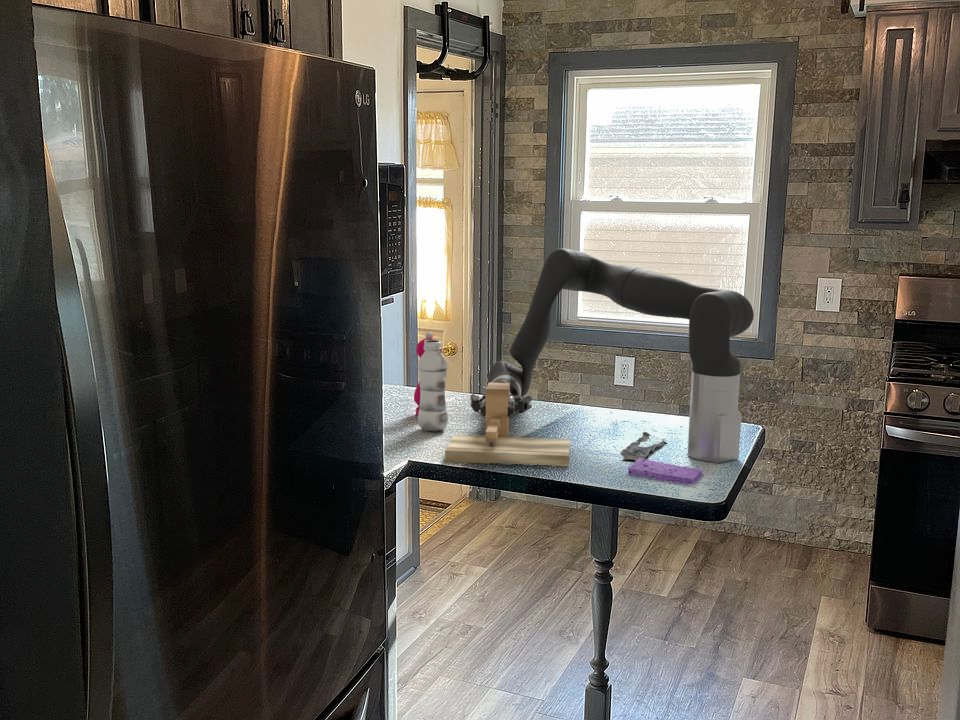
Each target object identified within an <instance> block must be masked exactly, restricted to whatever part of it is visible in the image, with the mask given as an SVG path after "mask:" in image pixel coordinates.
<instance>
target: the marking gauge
mask: <svg viewBox="0 0 960 720" xmlns="http://www.w3.org/2000/svg"><path fill="white" fill-rule="evenodd" d="M487 383H488V382H487ZM485 395H486V416H485V436H486V442H489V447H493V442H496V440H497V437H498V436H504V437H510V422H511V421H510V418H511V417H508V416H507V415H508V404H509V401H510V383H491V382H489V383H488V384H487V385H486V387H485Z"/></svg>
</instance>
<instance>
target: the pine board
mask: <svg viewBox="0 0 960 720" xmlns="http://www.w3.org/2000/svg"><path fill="white" fill-rule="evenodd" d="M570 453H571V439H570V438H550V437H548V438H547V437H527V436H526V437H523V436H509V437H504V436H498V437H497V440H496V442H493V447H489V442H486V435H478V434H473V435H472V434H454V435H453V436H452V437H451V439H450V441H449V443H448V445H447V447H446V449H445V457H444V458H445V461H444V462H449V463H470V464H471V463H473V464H489V463H513V464H538V465H553V466H552V467H556V466H569V467H570Z"/></svg>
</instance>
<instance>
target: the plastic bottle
mask: <svg viewBox="0 0 960 720" xmlns="http://www.w3.org/2000/svg"><path fill="white" fill-rule="evenodd" d="M441 346H442V341H441V340H439V339H436V340H426V341H424V350H425V352H424V354H423V355H422V356H421V358H420V357H419V359H420V360H419V359H418V360H419V361H418V360H417V361H418V362H417V373H418V379H419V380H420V389H421V390H420V393H421V396H420V409H419V413H418V417H417V422H418V426H419V427H420V430H423V431H429V432H438V431H443V430H445V429H446V428H447V426H448V422H449V417H448V416H449V415H448V414H449V413H448V409H447V403H446V381H447V373H448V362H447V360H446V358H445V356H444V355H443V354H442V353H441V352H440V350H442V351H443V347H441ZM419 380H418V381H419Z"/></svg>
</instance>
